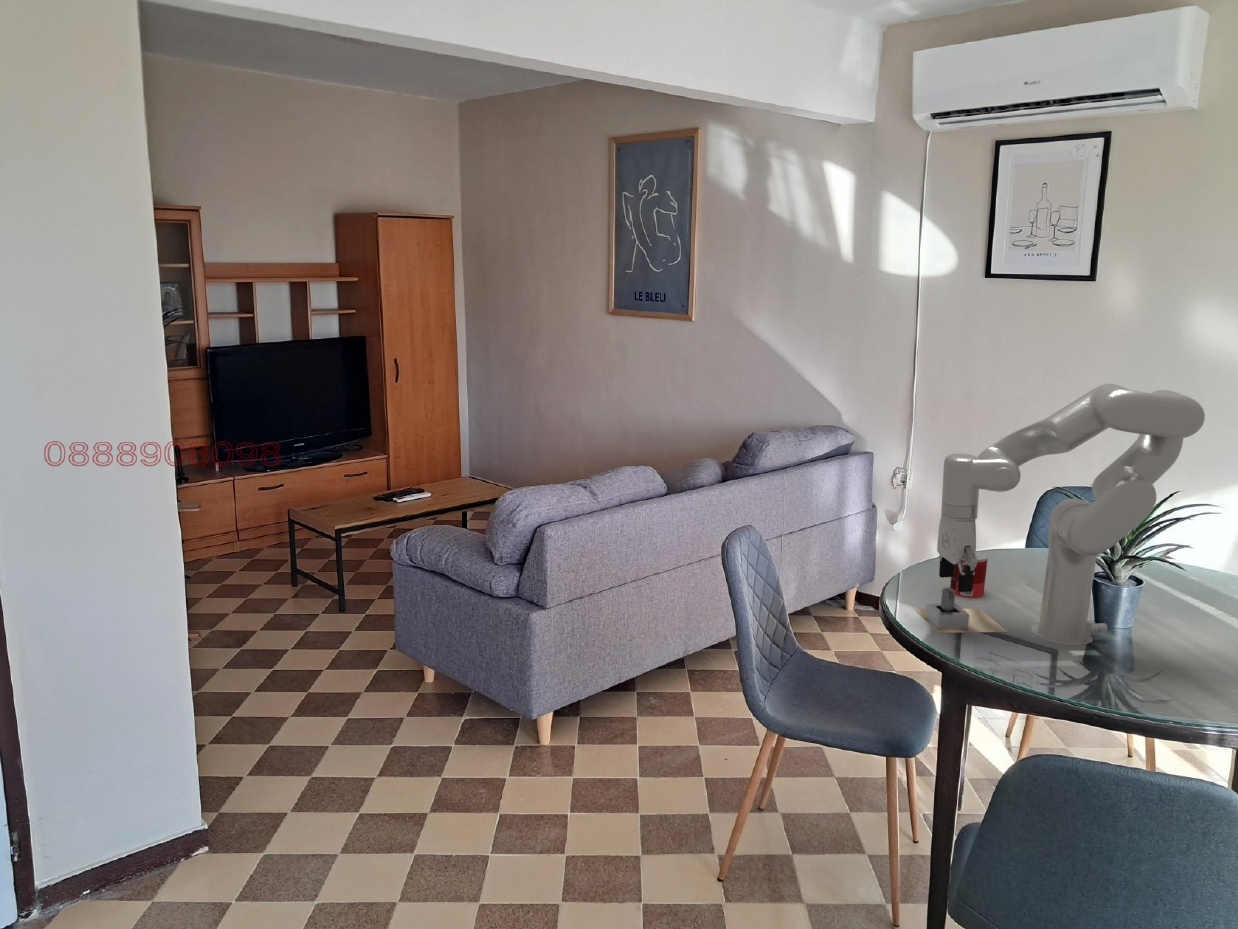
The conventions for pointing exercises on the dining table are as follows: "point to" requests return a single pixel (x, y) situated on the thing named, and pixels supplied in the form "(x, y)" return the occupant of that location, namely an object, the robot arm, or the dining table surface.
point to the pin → (947, 600)
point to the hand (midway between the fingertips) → (955, 584)
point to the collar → (947, 618)
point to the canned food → (977, 579)
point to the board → (971, 622)
